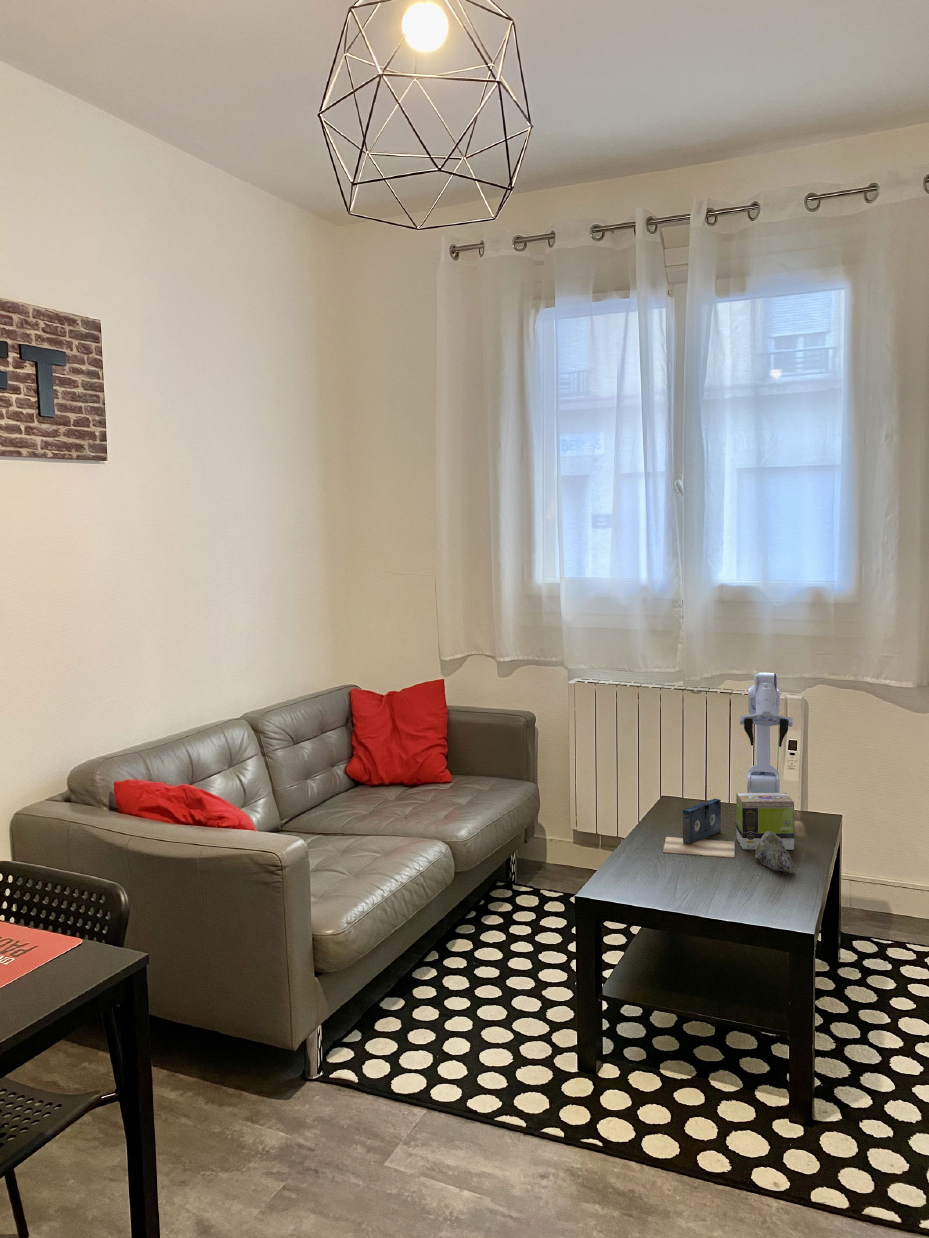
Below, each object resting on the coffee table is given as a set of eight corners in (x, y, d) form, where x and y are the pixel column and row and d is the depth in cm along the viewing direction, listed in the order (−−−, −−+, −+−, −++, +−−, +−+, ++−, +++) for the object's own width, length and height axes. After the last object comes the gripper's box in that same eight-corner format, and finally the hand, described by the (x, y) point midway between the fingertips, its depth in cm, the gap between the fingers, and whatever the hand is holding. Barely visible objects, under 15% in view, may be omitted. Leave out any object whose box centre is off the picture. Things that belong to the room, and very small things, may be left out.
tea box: (786, 839, 293) (787, 791, 292) (794, 851, 283) (795, 801, 282) (735, 838, 295) (736, 791, 293) (741, 850, 285) (742, 800, 283)
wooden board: (666, 837, 297) (666, 836, 296) (734, 842, 291) (734, 841, 291) (663, 852, 284) (663, 851, 284) (734, 858, 278) (734, 857, 278)
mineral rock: (793, 879, 262) (794, 843, 261) (751, 874, 266) (752, 838, 265) (795, 863, 274) (795, 828, 273) (755, 858, 278) (755, 824, 277)
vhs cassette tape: (713, 829, 304) (714, 797, 303) (722, 831, 301) (722, 799, 301) (680, 842, 291) (681, 809, 290) (689, 844, 289) (689, 811, 288)
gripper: (740, 697, 287) (739, 734, 278) (792, 698, 283) (793, 736, 274) (740, 711, 292) (739, 749, 283) (791, 713, 288) (792, 751, 279)
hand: (766, 744), depth 279 cm, fingers open, 7 cm apart
